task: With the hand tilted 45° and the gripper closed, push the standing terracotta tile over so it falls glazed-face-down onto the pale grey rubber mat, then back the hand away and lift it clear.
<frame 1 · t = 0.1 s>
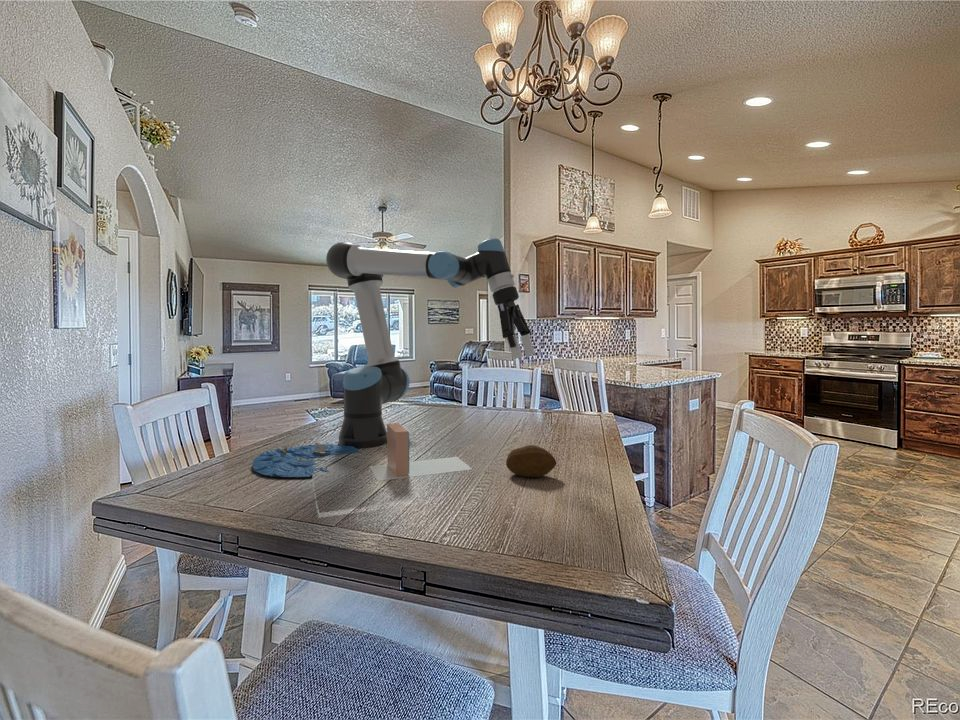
hand: (524, 356, 142), 28 cm above the table, tool tilted 20°, fingers open, 13 cm apart
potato: (530, 476, 118), on the table
decorative plate: (313, 463, 129), on the table
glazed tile: (397, 470, 119), point 1 cm above the table, touching grey rubber mat
grey rubber mat: (420, 470, 121), on the table
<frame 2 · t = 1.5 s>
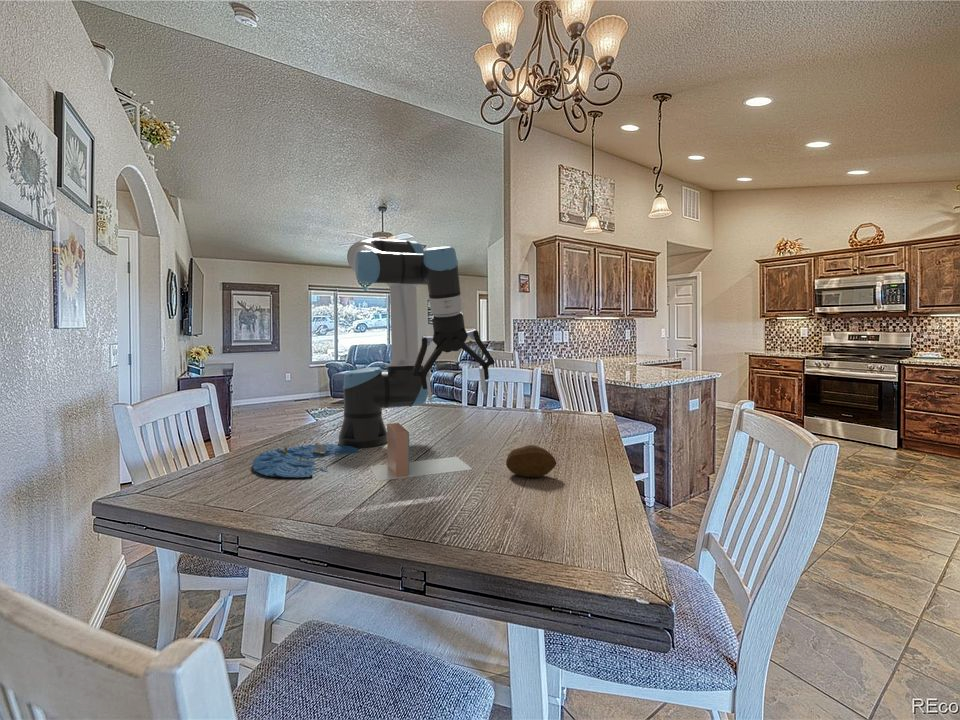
hand: (457, 396, 119), 19 cm above the table, tool pointing down, fingers open, 13 cm apart
nothing on the table moved.
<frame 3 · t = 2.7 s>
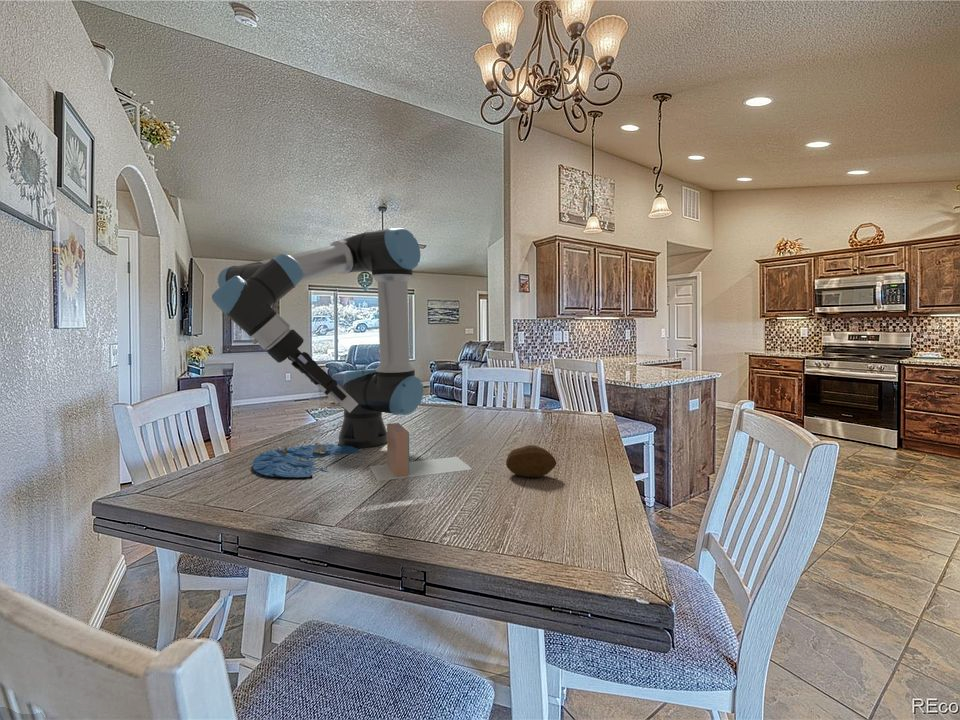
hand: (346, 404, 112), 19 cm above the table, tool tilted 45°, fingers open, 13 cm apart
nothing on the table moved.
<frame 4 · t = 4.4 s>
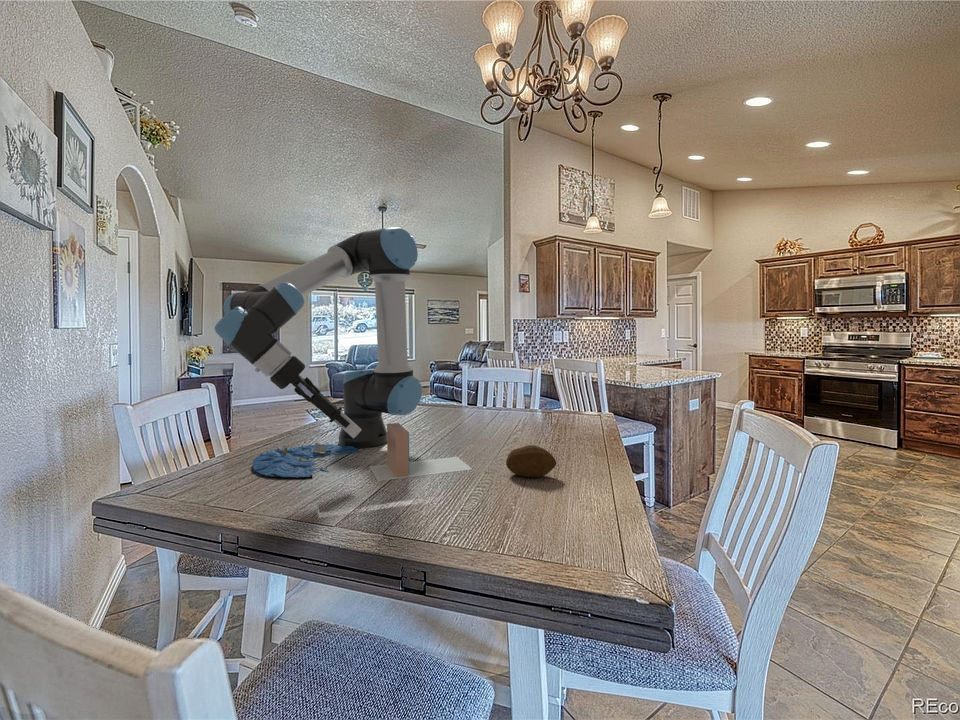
hand: (357, 433, 114), 11 cm above the table, tool tilted 45°, fingers closed
nothing on the table moved.
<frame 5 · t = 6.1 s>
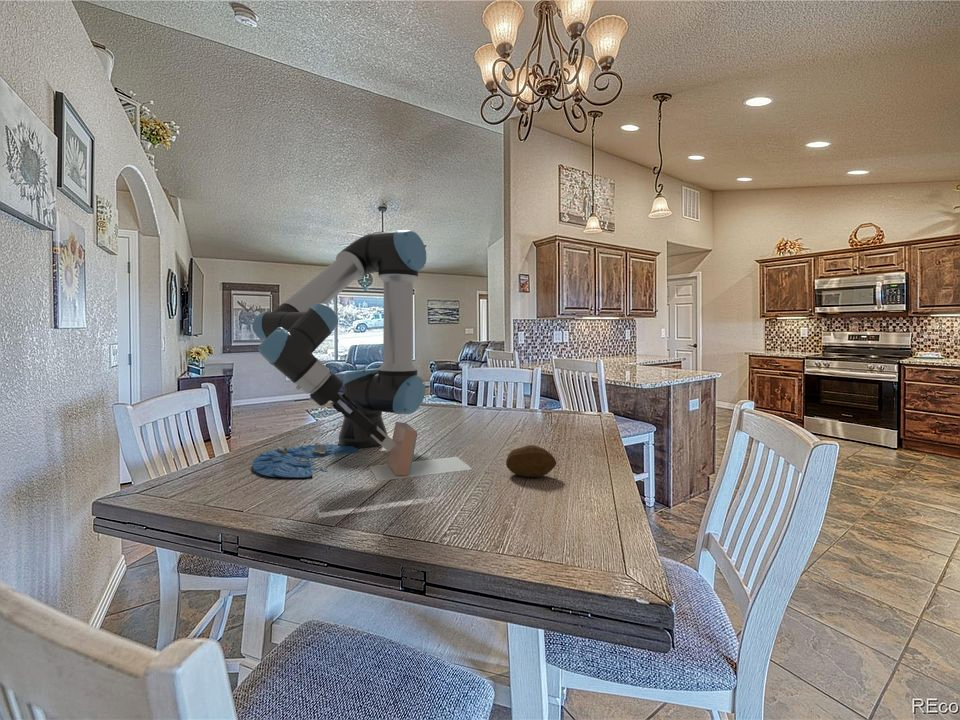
hand: (392, 447, 117), 7 cm above the table, tool tilted 45°, fingers closed
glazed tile: (397, 469, 119), point 1 cm above the table, tilted 12°, touching grey rubber mat
everything else where it was.
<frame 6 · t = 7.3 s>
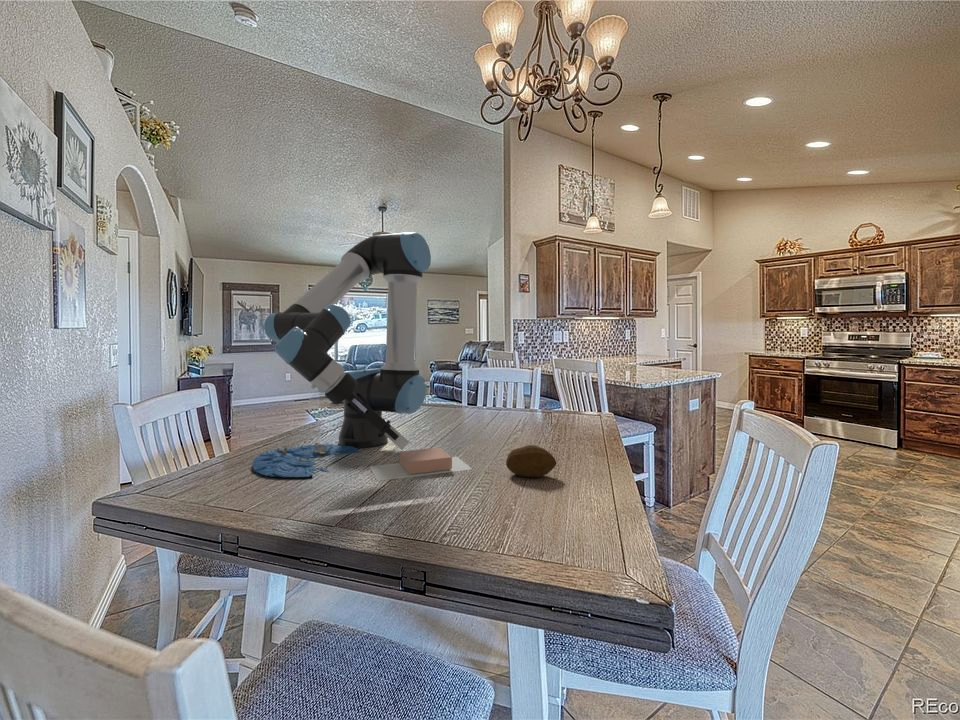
hand: (404, 445, 119), 7 cm above the table, tool tilted 45°, fingers closed
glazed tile: (404, 462, 119), point 3 cm above the table, tilted 90°, touching grey rubber mat
everything else where it was.
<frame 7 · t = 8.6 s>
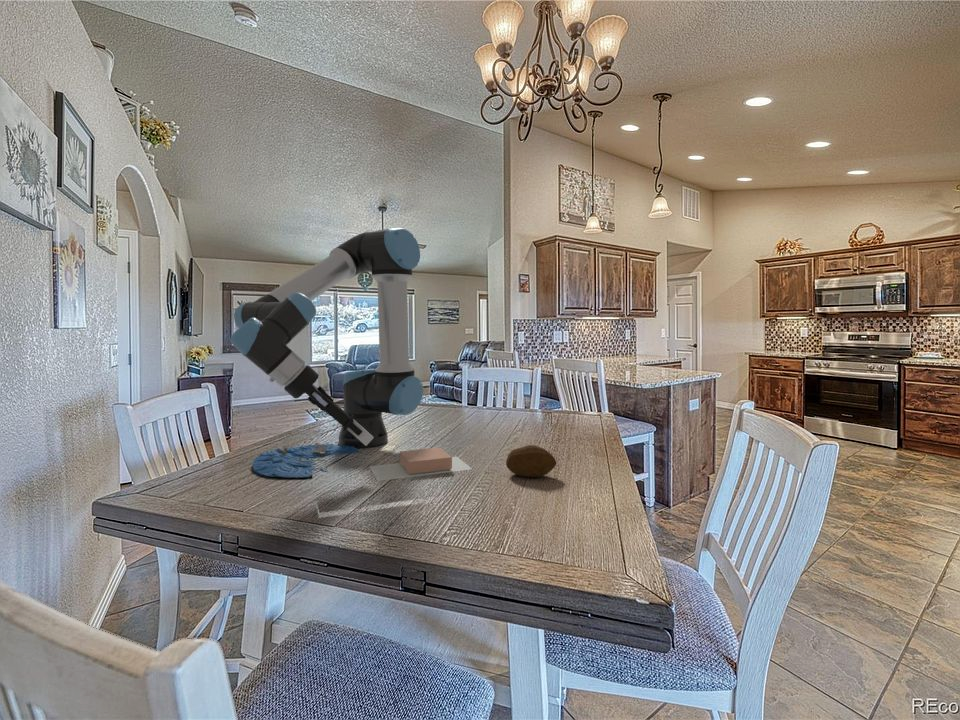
hand: (369, 441, 115), 9 cm above the table, tool tilted 45°, fingers closed
nothing on the table moved.
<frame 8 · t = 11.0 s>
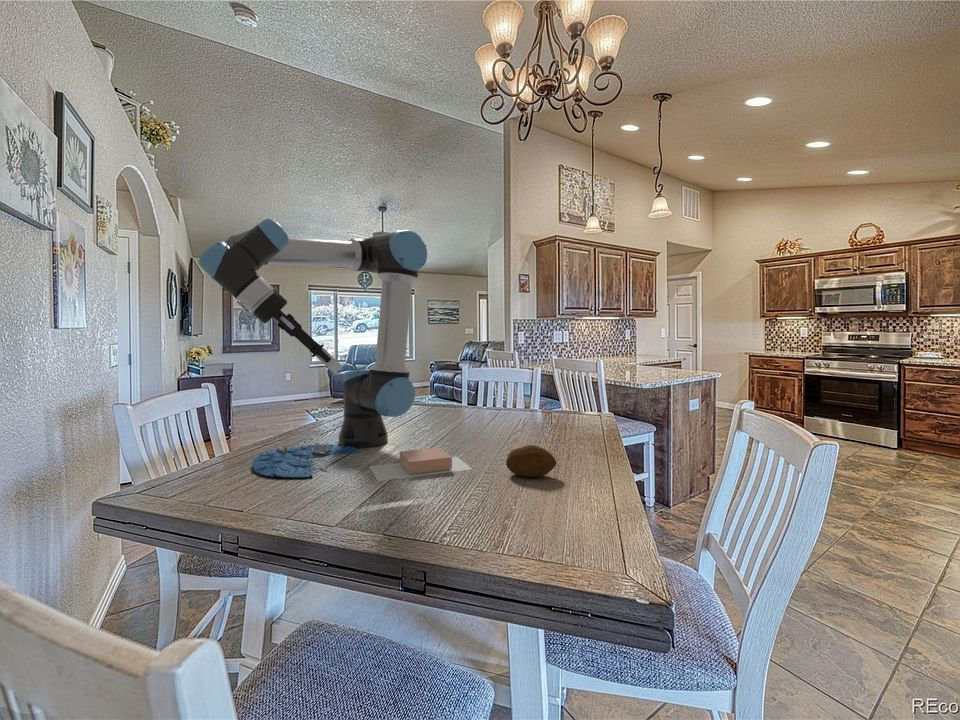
hand: (338, 369, 118), 26 cm above the table, tool tilted 45°, fingers closed
nothing on the table moved.
at the end: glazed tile tilted 90°; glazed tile inside the target area on the grey rubber mat (4.3 cm from its centre), point 2.7 cm above the grey rubber mat's base; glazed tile touching grey rubber mat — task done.
